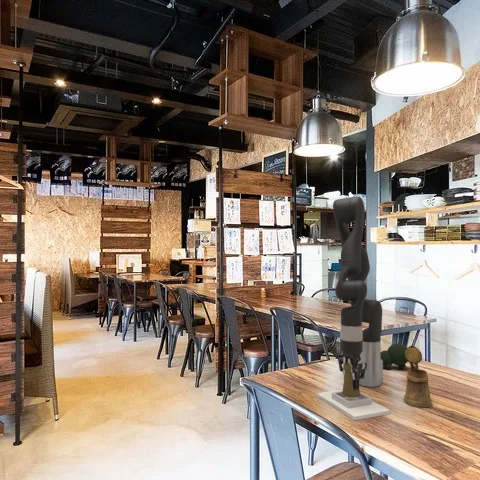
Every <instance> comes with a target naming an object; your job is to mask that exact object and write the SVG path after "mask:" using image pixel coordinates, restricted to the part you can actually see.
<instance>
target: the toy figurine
mask: <svg viewBox="0 0 480 480" xmlns="http://www.w3.org/2000/svg"><path fill="white" fill-rule="evenodd" d="M366 329H368V327H367V328H364V329H363V330H366ZM407 348H408V347H407V346H406V345H404V344H402V343H400V342H399V343H398V342H397V343H396V342H395V343H393V344H391V345H389V346H388V348H387V349H385V350H382V351H381V359H382V360H383V367H385V368H386V369H387V370H390V369H392V366H393V365H396V366H398V369H400V370H406V368H407V363H409V362H408V361H407V360H406V359H405V354H404V353H405V350H406V349H407Z"/></svg>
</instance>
